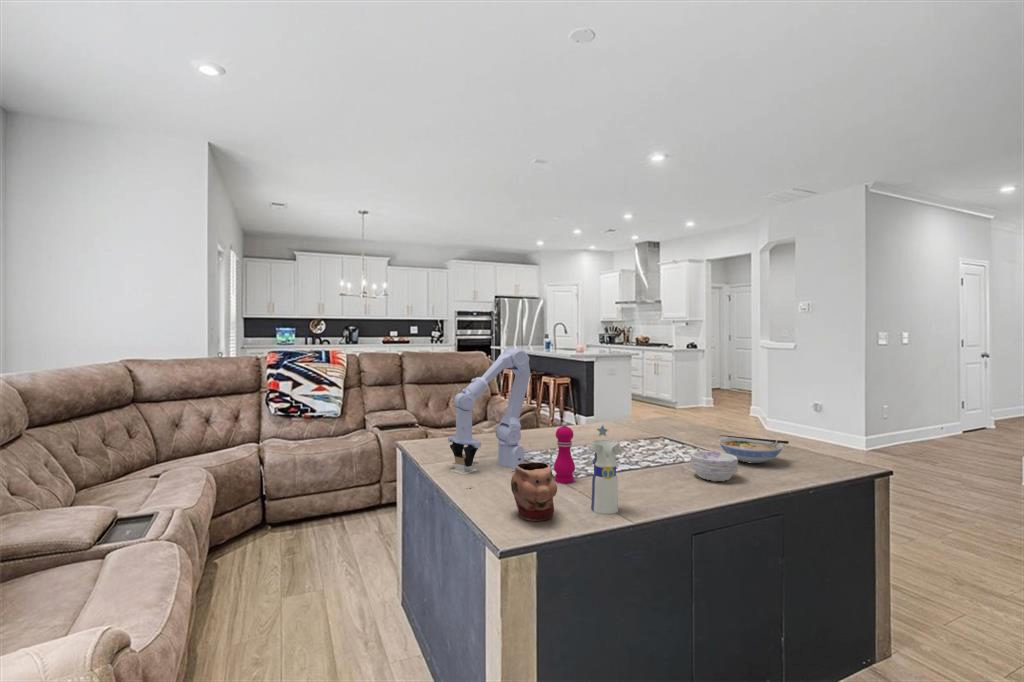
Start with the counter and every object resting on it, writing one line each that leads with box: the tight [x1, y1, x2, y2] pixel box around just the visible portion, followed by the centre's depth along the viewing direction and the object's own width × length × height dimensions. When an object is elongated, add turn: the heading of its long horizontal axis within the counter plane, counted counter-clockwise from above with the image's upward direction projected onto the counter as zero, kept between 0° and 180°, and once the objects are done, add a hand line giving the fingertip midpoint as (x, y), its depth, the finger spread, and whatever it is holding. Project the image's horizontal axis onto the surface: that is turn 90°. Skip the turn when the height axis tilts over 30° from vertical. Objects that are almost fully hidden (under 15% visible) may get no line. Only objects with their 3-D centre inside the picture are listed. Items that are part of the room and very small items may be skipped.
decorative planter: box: [510, 461, 558, 522], centre depth 139 cm, size 20×12×14 cm, turn 23°
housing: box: [454, 453, 474, 473], centre depth 178 cm, size 4×4×5 cm
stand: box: [450, 468, 478, 475], centre depth 178 cm, size 7×7×1 cm
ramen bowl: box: [718, 434, 790, 464], centre depth 195 cm, size 25×23×8 cm
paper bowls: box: [689, 450, 739, 482], centre depth 174 cm, size 15×15×8 cm
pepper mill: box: [553, 421, 576, 484], centre depth 170 cm, size 7×7×20 cm
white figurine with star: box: [590, 424, 622, 515], centre depth 143 cm, size 8×9×25 cm
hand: (464, 464), depth 178 cm, fingers closed on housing, 4 cm apart
